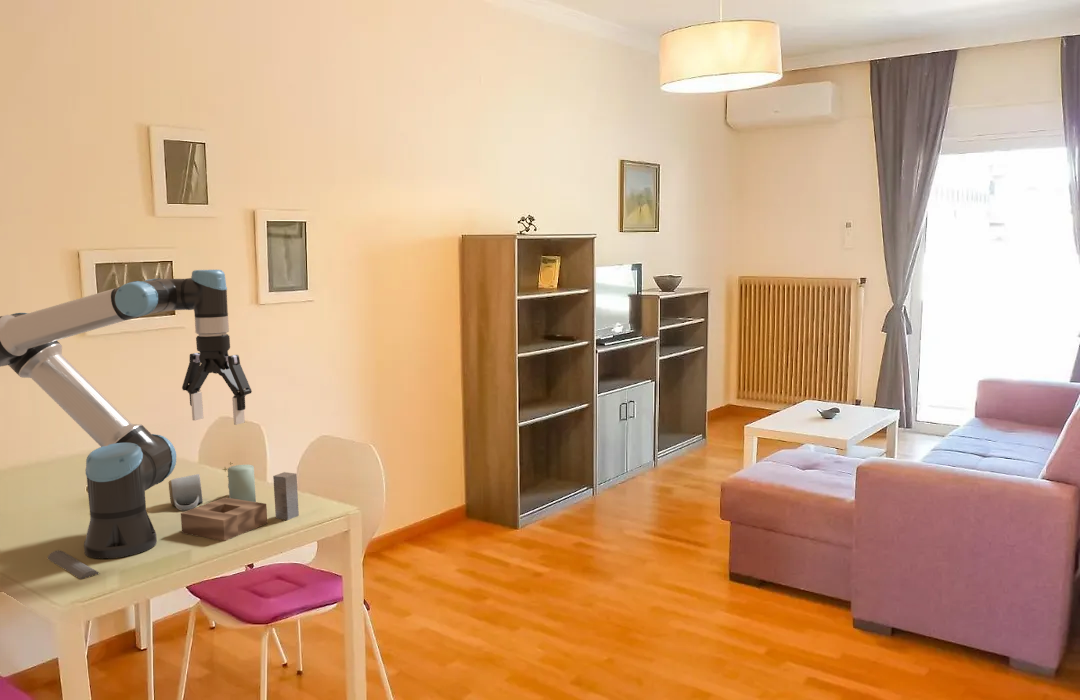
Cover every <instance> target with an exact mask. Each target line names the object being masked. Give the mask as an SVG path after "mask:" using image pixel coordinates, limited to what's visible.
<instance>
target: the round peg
mask: <svg viewBox="0 0 1080 700" xmlns="http://www.w3.org/2000/svg"><path fill="white" fill-rule="evenodd" d="M227 481H228V483H229V488H228V493H229V497H228V498H232V499H238V500H245V501H251V502H257V501H256V500H257V498H256V497H257V496H256V484H255V483H256V482H255V467H254V465H252V464H236V465H231V466H229V467H228V468H227Z"/></svg>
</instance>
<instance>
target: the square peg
mask: <svg viewBox="0 0 1080 700" xmlns="http://www.w3.org/2000/svg"><path fill="white" fill-rule="evenodd" d="M272 478H273V479H272V480H273V493H274V495H273V496H274V509H275V519H279V520H285V521H289V520H292V519H294V518H296V517H298V516H299V515H300V513H299V497H298V495H299V494H298V481H297V480H298V479H297V478H298V477H297V473H296V472H295V473H293V472H286V471H283V472H281V473H278V474H275V475H273V477H272Z"/></svg>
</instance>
